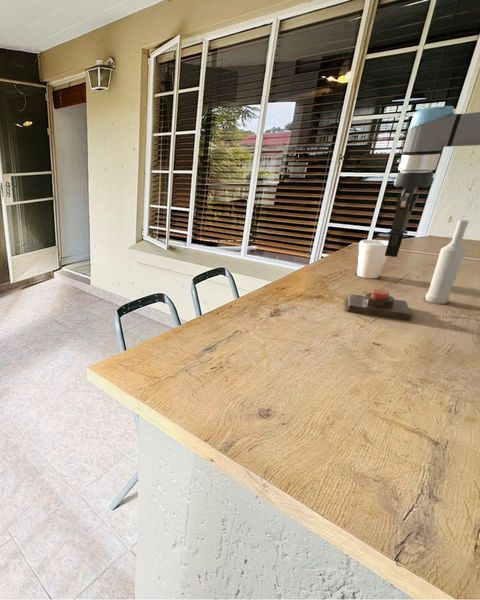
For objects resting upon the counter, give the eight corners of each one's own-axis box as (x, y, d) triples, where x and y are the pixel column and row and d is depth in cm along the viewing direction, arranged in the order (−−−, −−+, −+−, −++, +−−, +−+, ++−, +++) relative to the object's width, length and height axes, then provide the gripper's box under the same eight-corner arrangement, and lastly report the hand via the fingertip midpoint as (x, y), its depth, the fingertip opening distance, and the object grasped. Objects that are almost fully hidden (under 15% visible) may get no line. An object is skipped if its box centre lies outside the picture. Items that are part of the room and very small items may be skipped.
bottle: (429, 303, 108) (456, 221, 99) (421, 297, 112) (447, 218, 103) (451, 304, 106) (481, 221, 97) (442, 298, 110) (470, 218, 101)
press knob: (386, 297, 105) (388, 290, 105) (388, 301, 102) (390, 295, 102) (370, 295, 108) (371, 288, 107) (370, 299, 105) (372, 293, 104)
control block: (404, 306, 107) (407, 294, 105) (409, 320, 98) (413, 307, 97) (347, 299, 114) (350, 287, 113) (347, 311, 106) (350, 299, 105)
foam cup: (352, 277, 133) (360, 244, 128) (352, 270, 140) (359, 238, 135) (384, 280, 127) (394, 246, 123) (382, 273, 134) (391, 240, 130)
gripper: (401, 170, 101) (379, 249, 110) (393, 173, 93) (370, 258, 102) (437, 169, 96) (411, 253, 105) (431, 173, 88) (404, 262, 97)
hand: (390, 255), depth 103 cm, fingers closed
